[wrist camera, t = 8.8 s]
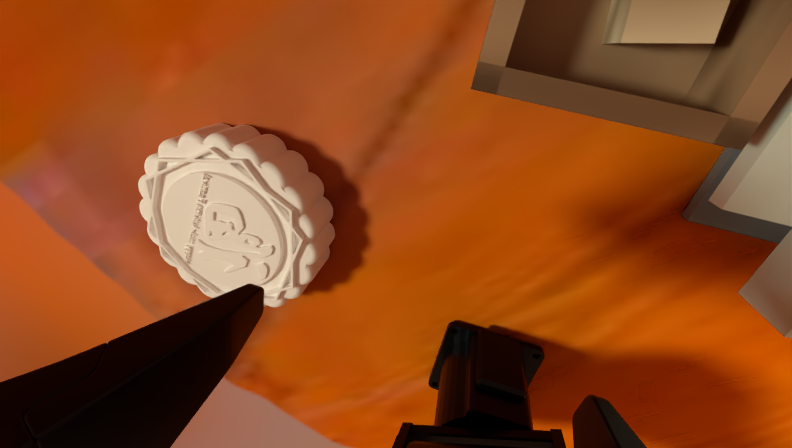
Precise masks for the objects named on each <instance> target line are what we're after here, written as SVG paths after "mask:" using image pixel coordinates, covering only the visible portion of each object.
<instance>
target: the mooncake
mask: <svg viewBox="0 0 792 448" xmlns="http://www.w3.org/2000/svg"><path fill="white" fill-rule="evenodd" d="M144 166H145V172H146V174H145V175H143V176H142V177H141V178H140V180H139V183H138V187H139V191H140V193H141V195H142V197H143V199H142V200H141V202H140V212H141V214H142V216H143V217H144V219H145V220H146V221H147V222H148V227H147V231H148V234H149V237H150V238H151V240H152V241H153V242H154V243H156V244H157V245H159V248H160V253H161V256H162V257H163V258H164V260H165V261H166V262H167V263H168V264H170V265H172V266H174V267H176V268H177V269H178V272H179V274H180V276H181V277H182V278H183V279H184V280H185V281H186V282H188V283H190V284H194V285H197V286H198V287H199V289H200V290H201V291H202V292H203V293H204V294H205V295H207V296H209V297H212V298H215V297H217V296H219V295H222V294H224V293H227V292H229V291H231V290H234V289H236V288H239V287H241V286H244V285H246V284H254V285H258V286H261V287H262V288H263V289H264V307H265V306H266V305H268V306H270V307H280V306H282V305H283V304H285V302H286V301H287V300H288V299H294V298H297V297H299V296H300V295H301V294H302V293H303V291H304V290H305V289H306V287H307V286H308V284H309V283H310V282H311V281H312V280H313V279H314V277H315V276H316V275H317V273H318V272H319V270H320V269H321V268H322V266H323V265H324V264H325V262H326V261H327V260H328V258H329V256H330V249H329V245H330V244H331V243H332V241H333V240H334V237H335V230H334V227H333V225H332V224H331V223H330V220H331V219H332V217H333V207H332V205H331V203H330V202H329V201H328V200H327V199H326V198H325V197H323V195H324V185H323V183H322V181H321V179H320V178H319V177H318V176H317V175H316V174H314V173H312V172H309V171H308V164H307V162H306V160H305V158H304V157H303V156H302V155H301V154H300V153H298V152H296V151H293V150H287V148H286V146H285V144H284V142H283V141H282V140H281V139H280V138H279V137H277V136H275V135H273V134H263V135H261V134H260V133H259V131H258V130H257V129H255V128H254V127H252V126H250V125H246V124H242V125H238V126H235V127H231V126H230V125H227V124H224V123H218V124H214V125H211V126H207V127H204V128H200V129H197V130H193V131H189V132H186V133H184V134H183V135H181V136H177V137H174V138H170V139H167V140H165V141H163V142H162V143H161V144H160V146H159V149H158V153H155V154H152V155H150V156H149V157H148V158H147V159H146V161H145V165H144Z"/></svg>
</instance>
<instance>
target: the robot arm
mask: <svg viewBox="0 0 792 448" xmlns="http://www.w3.org/2000/svg"><path fill="white" fill-rule="evenodd" d="M263 309H264V289H263V288H262V287H261V286H258V285H254V284H246V285H244V286H241V287H239V288H236V289H234V290H231V291H229V292H227V293H224V294H222V295H219V296H217V297H215V298H212V299H210V300H207V301H205V302H203V303H200V304H198V305H195V306H193V307H190V308H188V309H186V310H183V311H181V312H178V313H176V314H174V315H171V316H169V317H166V318H164V319H162V320H159V321H157V322H154V323H152V324H149V325H147V326H145V327H142V328H140V329H137V330H135V331H133V332H130V333H128V334H125V335H123V336H121V337H118V338H116V339H113V340H111V341H109V342H108V344H107V343H104V344H101V345H99V346H96V347H94V348H91V349H89V350H87V351H84V352H81V353H79V354H77V355H74V356H71V357H69V358H66V359H64V360H61V361H59V362H56V363H53V364H51V365H48V366H45V367H42V368H40V369H37V370H34V371H31V372H29V373H26V374H23V375H20V376H17V377H14V378H12V379H8V380H6V381H3V382H0V448H170V447H171V446H172V444H173V443H174V442H175V440H176V439H177V438H178V436H179V435H180V434H181V432H182V431H183V430H184V428H185V427H186V426H187V424H188V423H189V422H190V420H191V419H192V417H193V416H194V415H195V414H196V412H197V411H198V410H199V408H200V407H201V406H202V404H203V403H204V402H205V400H206V399H207V398H208V396H209V395H210V394H211V393H212V391H213V390H214V388H215V387H216V386H217V384H218V383H219V382H220V380H221V379H222V378H223V377H224V375H225V374H226V373H227V371H228V370H229V368H230V367H231V366H232V364H233V363H234V361H235V359H236V358H237V356H238V354H239V353H240V351H241V349H242V348H243V346H244V344H245V343H246V341H247V339H248V338H249V336H250V334H251V333H252V331H253V329H254V328H255V326H256V324H257V323H258V321H259V319H260V318H261V316H262V313H263ZM453 328H454V329H457V330H453ZM534 353H538V354H534ZM543 359H544V351H543V349H542V348H541V347H539V346H536V345H533V344H529V343H526V342H522V341H519V340H516V339H512V338H509V337H506V336H502V335H499V334H496V333H492V332H489V331H486V330H482V329H479V328H475V327H472V326H469V325H465V324H462V323H459V322H450V323H449V324H448V326H447V329H446V332H445V335H444V338H443V340H442V343H441V346H440V349H439V352H438V355H437V357H436V360H435V363H434V366H433V369H432V372H431V374H430V377H429V386H430V387H431V388H434V389H437V390H439V391H438V399H437V407H436V415H435V423H434V426H433V425H413V423H404V422H403V424H402V426H401V429H400V431H399V433H398V435H397V437H396V439H395V442H394V444H393V447H392V448H566V446H565V442H564V438H563V434H562V430H561V429H550V431H542V430H533V423H532V416H531V409H530V402H529V395H528V386H529V384H530V382H531V380H532V379H533V377H534V375H535V373H536V372H537V370H538V368H539V366H540V365H541V363H542V361H543ZM573 440H574V448H647V447H646V446H645V445H644V444H643V442H642V441H641V440H640V439H639V438H638V436H637V435H636V434H635V433H634V431H633V430H632V429H631V428H630V427H629V425H628V424H627V423H626V422H625V421H624V419H623V418H622V417H621V416H620V415H619V413H618V412H617V411H616V410H615V408H614V407H613V406H612V405H611V404H610V402H609V401H607V400H606V399H604V398H601V397H598V396H595V395H588V396H587V397H586V398H585V399H584V401H583V402H582V403H581V405H580V406H579V407H578V409H577V410H576V411H575V413H574V415H573Z"/></svg>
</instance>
